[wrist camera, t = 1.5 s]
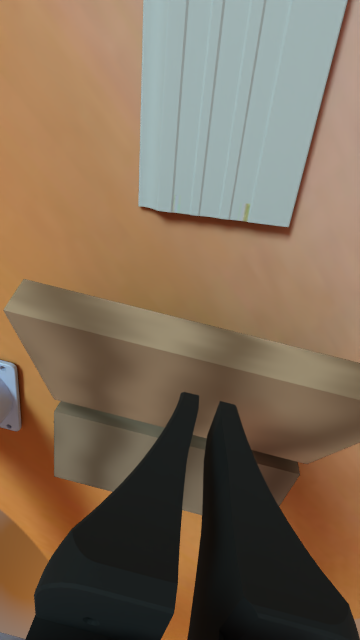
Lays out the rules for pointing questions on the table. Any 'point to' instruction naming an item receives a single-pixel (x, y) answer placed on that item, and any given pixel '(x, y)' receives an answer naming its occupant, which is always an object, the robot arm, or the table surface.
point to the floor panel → (138, 454)
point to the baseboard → (232, 103)
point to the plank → (187, 371)
